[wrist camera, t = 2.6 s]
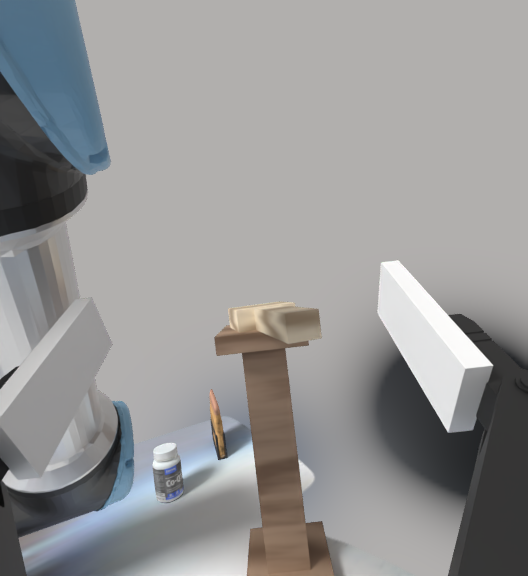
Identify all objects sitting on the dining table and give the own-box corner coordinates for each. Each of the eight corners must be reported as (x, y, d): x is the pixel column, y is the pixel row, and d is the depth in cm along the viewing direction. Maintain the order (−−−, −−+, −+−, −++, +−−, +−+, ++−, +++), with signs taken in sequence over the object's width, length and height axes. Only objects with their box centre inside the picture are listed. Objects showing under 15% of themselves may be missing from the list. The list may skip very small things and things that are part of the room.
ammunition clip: (212, 438, 79) (206, 388, 79) (220, 436, 80) (214, 387, 79) (218, 460, 69) (211, 403, 69) (227, 458, 69) (220, 401, 69)
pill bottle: (170, 506, 56) (164, 456, 56) (150, 500, 58) (144, 452, 58) (189, 489, 60) (184, 443, 60) (170, 484, 62) (164, 440, 62)
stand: (338, 600, 36) (306, 327, 36) (246, 610, 36) (214, 337, 36) (323, 531, 46) (298, 317, 46) (251, 539, 46) (226, 325, 46)
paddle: (342, 334, 29) (339, 305, 29) (265, 347, 27) (261, 317, 27) (281, 320, 45) (279, 301, 45) (230, 327, 43) (228, 308, 43)
